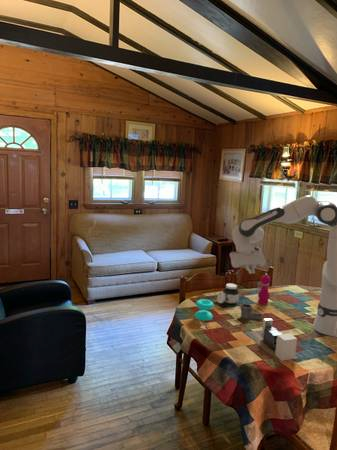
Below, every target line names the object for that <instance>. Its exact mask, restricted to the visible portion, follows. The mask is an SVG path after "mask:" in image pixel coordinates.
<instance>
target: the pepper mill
mask: <svg viewBox="0 0 337 450" xmlns="http://www.w3.org/2000/svg"><path fill="white" fill-rule="evenodd" d="M260 281H261V282H260V284H261V288H260V290H259V292H258V294H257V297H258V300H257V302H258V304H260V305H268V304H269V299H270V292H269V286H270V282H271V277H270V275H268V273H267V272H265V273H264V275H262V276H261V277H260Z"/></svg>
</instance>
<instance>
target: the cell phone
mask: <svg viewBox="0 0 337 450" xmlns="http://www.w3.org/2000/svg"><path fill="white" fill-rule="evenodd" d="M199 329H201V330H205V331H210V330H209V328H208V327H207V326H206V324H205V323H202V324H201V326H200V327H199Z"/></svg>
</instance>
